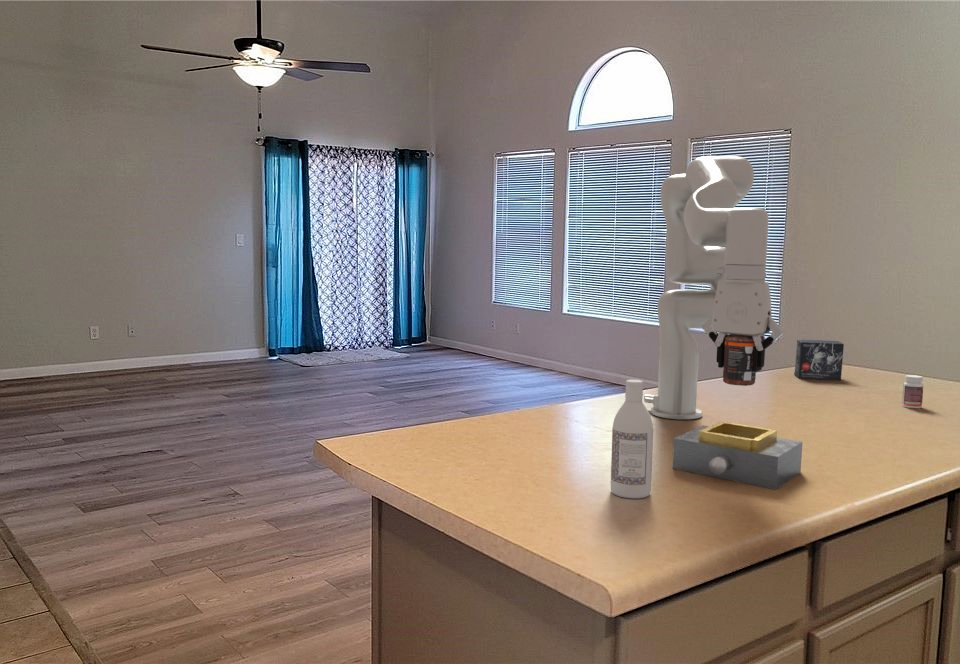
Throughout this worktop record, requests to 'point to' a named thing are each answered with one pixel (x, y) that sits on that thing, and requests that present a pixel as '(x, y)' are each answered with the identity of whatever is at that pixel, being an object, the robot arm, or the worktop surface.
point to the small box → (819, 359)
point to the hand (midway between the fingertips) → (739, 367)
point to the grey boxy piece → (738, 454)
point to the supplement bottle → (739, 360)
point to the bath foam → (632, 446)
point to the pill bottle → (912, 392)
